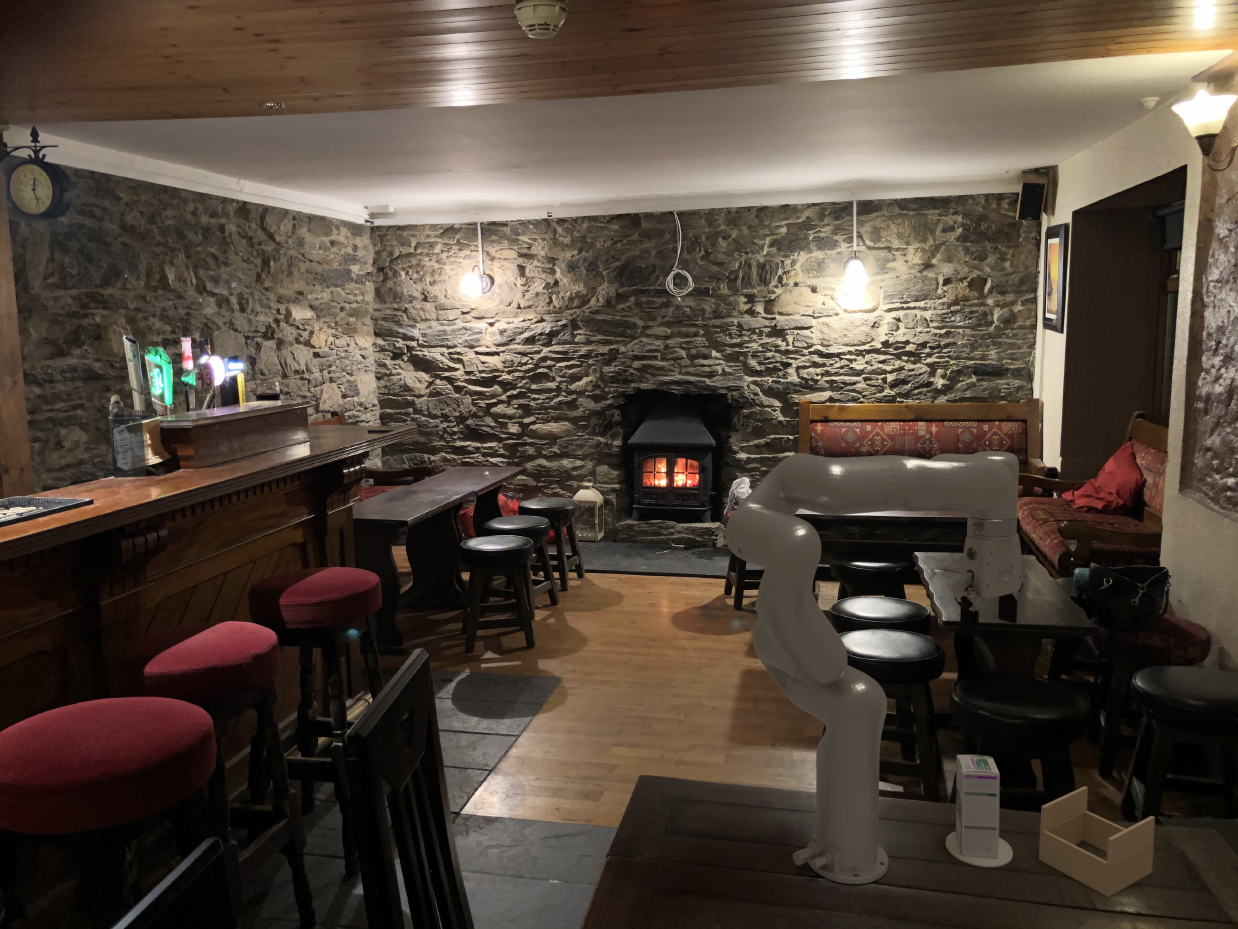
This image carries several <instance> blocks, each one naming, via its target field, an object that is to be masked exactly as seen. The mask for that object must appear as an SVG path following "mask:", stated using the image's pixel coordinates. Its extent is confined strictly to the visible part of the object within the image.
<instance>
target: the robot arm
mask: <svg viewBox="0 0 1238 929" xmlns="http://www.w3.org/2000/svg"><path fill="white" fill-rule="evenodd" d="M1019 466H1020V463H1019V458H1018V457H1017V455H1015V454H1014V453H1011V452H1008V451H999V450H998V451H995V450H986V451H985V450H984V451H983V450H982V451H977V452H974V453H972V454H960V453H940V454H937V455H935V456H932V457H931V458H930V459H927V458H920V457H914V456H905V455H895V454H894V455H892V454H887V455H872V456H871V455H870V456H849V457H847V456H845V457H842V456H841V457H828V456H821V455H815V454H809V453H804V452H803V453H801V452H799V453H798V452H797V453H795V454H791V455H789V456H788V457H786V458H784V459H783V460H781V462H779V463H778V464H776V465H775V467H774V468H772V469H771V470H770V471H769V473H767V474H766V476H764V478H762V479H761V481H760V482H759V483H758V484H757V485H756V486H755V487H754V488H753V490H752V491H750V493H749V494H748V495H747V496H746V497H745V498H744V499H743V500H742V501H741V503H740V504H739V505H738V506H737V507H736V508H735V509H734V511H733V512H732V513H731V515H730V517H729V519H728V522H727V524H726V528H725V542H726V544H727V546H728V549H729V550H730V552H731V553H733V555H735V556H736V557H737V558H739V559H741V560H742V561H745V562H747V563H751V564H753V565H755V566H758V567H761V568H764V571H763V575H762V577H761V580H760V582H759V583H760V584H759V587H758V591H757V594H756V599H755V611H756V615H757V617H758V618H757V620H756V622H755V623H754V627H753V631H752V643H753V644H752V645H753V648H754V651H755V653H756V656H757V658H758V660H759V661H760V662H761V664H762V666H763V667H764V668H765V670H766V671H767V673H768V674H769V675H770V676H771V678H772V679H773V680H774V682H775V683H776V684H777V686H778V687H779V688H780V690H781V691H782V693H783V694H784V695H785V696H786V698H787V699H788V700H789V701H790V702H791V703H793V705H794V706H796V707H797V708H800V709H801V710H802V711H804V712H806V713H808V714H810V715H811V716H813V717H815V718H816V719H818V720H819V721H821V722H822V723H824V725H825V731H824V734H823V736H822V737H821V739H820V741H819V742H818V745H817V748H816V754H815V770H816V771H815V772H816V773H815V776H816V778H815V780H816V782H815V783H816V784H815V788H816V789H815V790H816V792H815V800H816V801H815V833H814V834H811V837H810V841H809V843H808V844H807V846H806V848H802V849H800V850H797V851H795V852H793V854H792V859H793V862H794V864H796V865H797V866H802V865H803V864H805V863H807V864H808V865H809V867H810V868H811V869H812V870H813V871H814V872H816V874H818V875H820V876H822V877H823V878H825V879H827V880H831V881H834V882H838V883H840V884H841V883H842V884H847V885H862V884H868V883H872V882H876V881H877V880H879V879H880V878H882V877H883V876H885V875H886V873H887V872H888V868H889V857H888V854H887V851H886V850H885V849H884V848H883V847H882V846H881V845H880V844H879V816H880V815H879V808H880V803H879V802H880V799H879V798H880V794H879V793H880V752H881V751H880V749H881V740H882V732H883V729H884V724H885V720H886V716H887V710H888V700H887V696H886V693H885V691H884V689H883V688H882V686H881V685H880V683H879V682H878V681H877V680H876V679H874V678H873V677H871V676H870V675H868V674H867V673H865V672H863V671H861V670H859V669H857V668H855V667H853V666H851V665H848V653H847V649H846V646H845V643H844V641H843V640H842V639H841V637H840V635H839V633H838V632H837V630H836V629H835V627H834V626H833V624H832V623H831V621H829V619H828V617H827V616H826V614H825V613H824V612H823V610H822V609H821V607H820V605H819V604H818V602H817V600H816V598H815V596H814V595H813V594H814V593H813V583H814V579H815V575H816V572H817V569H818V567H819V563H820V561H821V556H822V542H821V538H820V535H819V533H818V531H817V530H816V529H815V527H814V526H813V525H812V524H811V523H809V522H808V521H806V520H804V519H802V518H800V517H798V516H795V515H796V513H798V512H799V509H801V510H805V511H809V512H812V513H817V514H820V515H825V516H845V515H856V514H869V513H871V514H872V513H880V512H895V511H896V512H897V511H898V512H967V524H966V526H967V528H966V534H967V535H966V538H965V541H964V547H963V554H962V563H961V575H960V578H958V580H956V581H955V583H953V585H952V587H951V590H952V591H951V592H952V593H953V596H954V600H955V602H956V603H957V607H958V608H960V617H959V629H960V631H962V632H965V633H969V634H972V635H978V634H979V632H980V631H979V628H980V627H979V626H980V610H978V609H977V608H978V606H979V605H980V603H981V601H982V599H985V600H992V599H996V598H998V612H997V613H998V614H997V615H998V619H999V620H1001V621H1004V622H1006V623H1007V622H1008V623H1009V624H1010V623H1012V624H1016V623H1017V622H1018V620H1017V619H1018V603H1019V602H1018V600H1019V599H1020V597H1021V590H1023V587H1024V580H1025V578H1026V575H1027V571H1026V569H1024V568H1023V565H1022V564H1023V563H1022V548H1021V541H1020V536H1019V533H1017V529H1018V528H1017V527H1018V526H1017V524H1018V498H1019V473H1020V472H1019V471H1020V469H1019V468H1020V467H1019ZM970 597H972V600H970Z"/></svg>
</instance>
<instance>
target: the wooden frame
mask: <svg viewBox="0 0 1238 929" xmlns="http://www.w3.org/2000/svg"><path fill="white" fill-rule="evenodd" d="M1088 788H1089V787H1088V786H1082V787H1079V788H1078V789H1076V790H1074V791H1071V792H1069V793H1067V794H1064V795H1063V796H1060V797H1058V798H1056V799H1054V800H1052V801H1050V802H1048V803H1046V804H1044V805H1041V806H1040V807H1041V809H1040V810H1041V813H1040V829H1039V830H1040V831H1039V848H1038V849H1039V851H1038V853H1039V854H1038V860H1039V861H1041V862H1043V863H1045V864H1047V865H1048V866H1050V867H1052V868H1054V869H1055V870H1057V871H1059V872H1060V873H1063V874H1064V875H1067V876H1068V877H1071V878H1072V879H1073V880H1075V881H1077V882H1079V883H1081V884H1083V885H1085V886H1087V887H1089V888H1091V889H1093V890H1094V891H1096V892H1097V893H1099V894H1102V895H1103V896H1105V897H1107V898H1110V897H1113V896H1114V895H1115V894H1118V892H1120V891H1122V890H1124V889H1126V888H1127V887H1130V886H1131V885H1132V884H1135V883H1136V882H1138V881H1139V880H1141V879H1142V878H1145V877H1147V876H1148V875H1150V874H1152V873H1153V863H1154V862H1153V859H1154V847H1155V846H1154V844H1155V842H1154V838H1155V837H1154V836H1155V825H1156V824H1155V823H1156V817H1155V816H1153V815H1150V816H1148V817H1147V818H1145V819H1143V820H1141V821H1139V822H1137V823H1135V824H1133V825H1131V826H1129V827H1128V828H1125V827H1124V826H1123V827H1122V826H1121V825H1119V824H1116V823H1114V822H1112V821H1110V820H1107V819H1106V818H1104V817H1101V816H1099V815H1097V814H1095V813H1093V812H1090V811H1088V810H1087V809H1088V791H1089V790H1088ZM1081 842H1086V843H1087V844H1090V845H1092V846H1094V847H1096V848H1097V849H1099V850H1100V851H1101V850H1102V851H1103V852H1106V860H1105V859H1103V858H1101V857H1099V856H1097V855H1095V854H1093V853H1091V852H1088V850H1084V849H1083V848H1081V847H1079V846H1077V844H1080V843H1081Z"/></svg>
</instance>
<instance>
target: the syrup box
mask: <svg viewBox="0 0 1238 929" xmlns="http://www.w3.org/2000/svg"><path fill="white" fill-rule="evenodd" d="M955 777H956V781H955V783H956V784H955V786H956V787H955V788H956V789H955V790H956V791H955V792H956V793H955V796H956V797H955V798H956V799H955V831H956V839H957V842H958V845H959V848H960V852H961V855H964V856H971V857H983V858H998V851H999V837H1000V780H1001V779H1000V778H1001V774H1000V772H999V769H998V768H997V764H996V763H995V760H994V758H993V756H988V755H981V754H957V755H956V776H955Z"/></svg>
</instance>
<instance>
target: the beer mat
mask: <svg viewBox="0 0 1238 929" xmlns="http://www.w3.org/2000/svg"><path fill="white" fill-rule="evenodd" d="M945 847H946V850H947V851H948V852H949V853H950V855H951V856H953V857H954V858H956V859H957V860H959V861H960V862H963V863H966V865H967V864H968V865H970V866H974V867H980V868H985V869H986V868H989V869H991V868H992V869H993V868H1001V867H1005V866H1006V865H1007V864H1009V863H1010V862H1011V861H1012V860H1013V857H1014V856H1013V854H1014V852H1013V849H1012V847H1011V846H1010V844H1009V843H1008V842H1007V841H1006V840H1004V839H1002V837H1000V836H999V851H998V858H983V857H971V856H964V855H961V852H960V848H959V845H958V842H957V839H956V830H955V831H953V832H951V833H949V834H948V835H947V837H946V838H945Z"/></svg>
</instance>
